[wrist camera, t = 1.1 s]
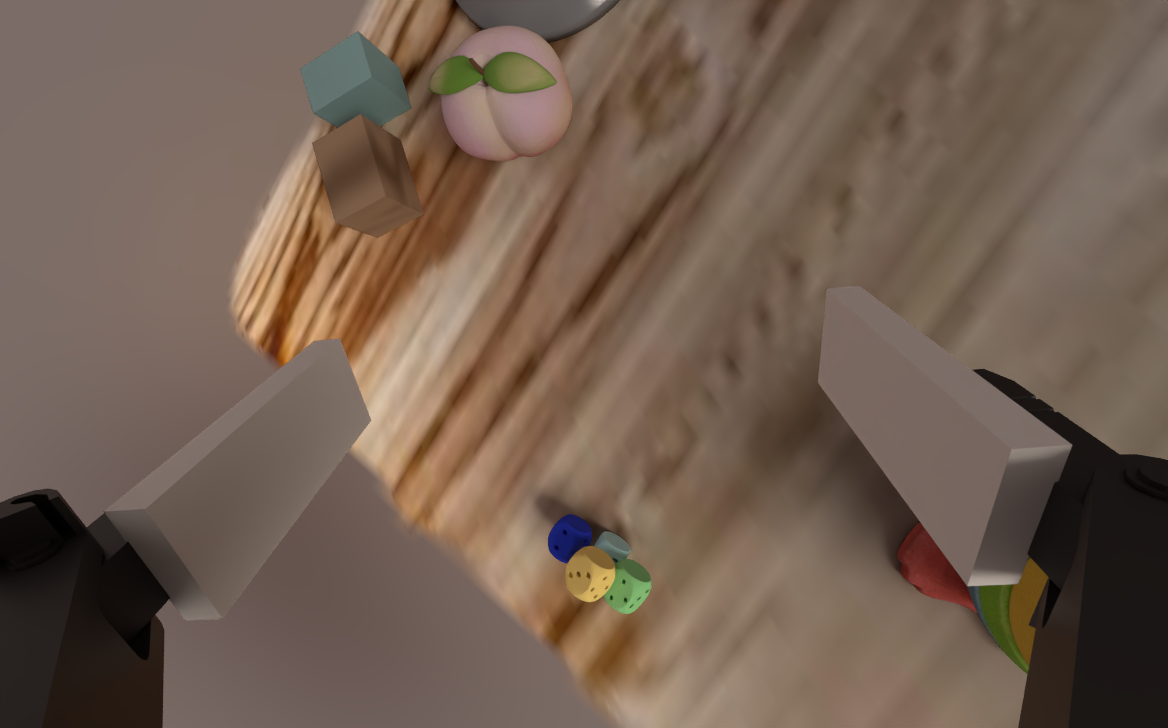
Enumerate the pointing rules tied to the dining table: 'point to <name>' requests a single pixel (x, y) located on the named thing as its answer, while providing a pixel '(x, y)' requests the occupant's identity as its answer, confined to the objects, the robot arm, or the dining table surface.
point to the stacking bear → (977, 593)
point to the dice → (598, 565)
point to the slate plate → (538, 15)
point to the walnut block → (367, 177)
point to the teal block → (355, 83)
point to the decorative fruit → (504, 94)
